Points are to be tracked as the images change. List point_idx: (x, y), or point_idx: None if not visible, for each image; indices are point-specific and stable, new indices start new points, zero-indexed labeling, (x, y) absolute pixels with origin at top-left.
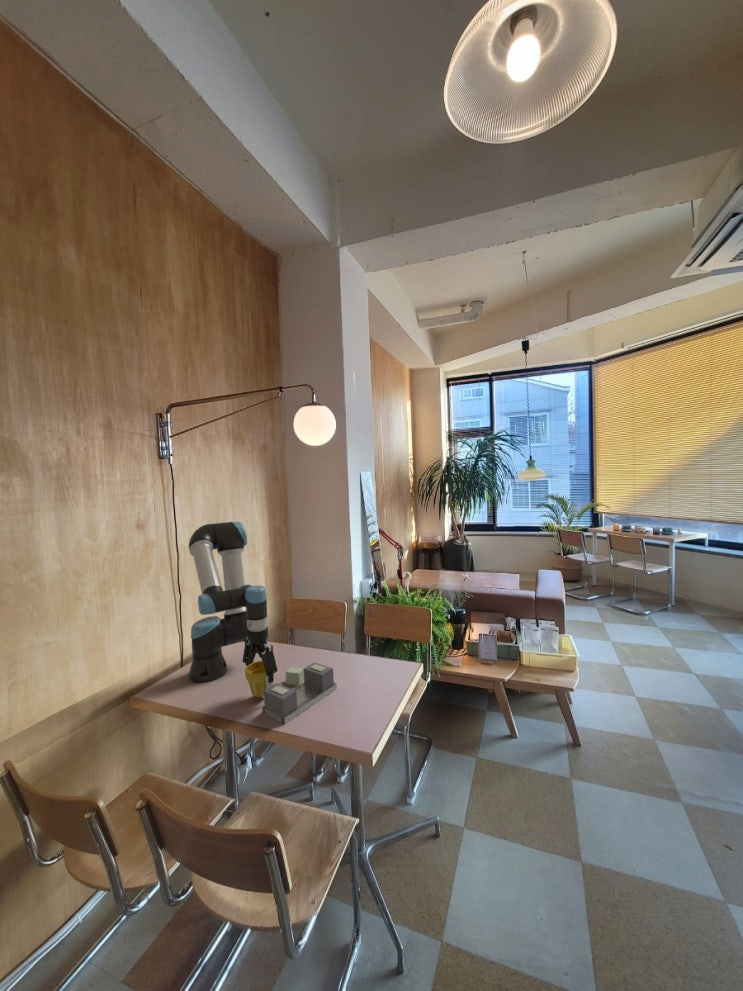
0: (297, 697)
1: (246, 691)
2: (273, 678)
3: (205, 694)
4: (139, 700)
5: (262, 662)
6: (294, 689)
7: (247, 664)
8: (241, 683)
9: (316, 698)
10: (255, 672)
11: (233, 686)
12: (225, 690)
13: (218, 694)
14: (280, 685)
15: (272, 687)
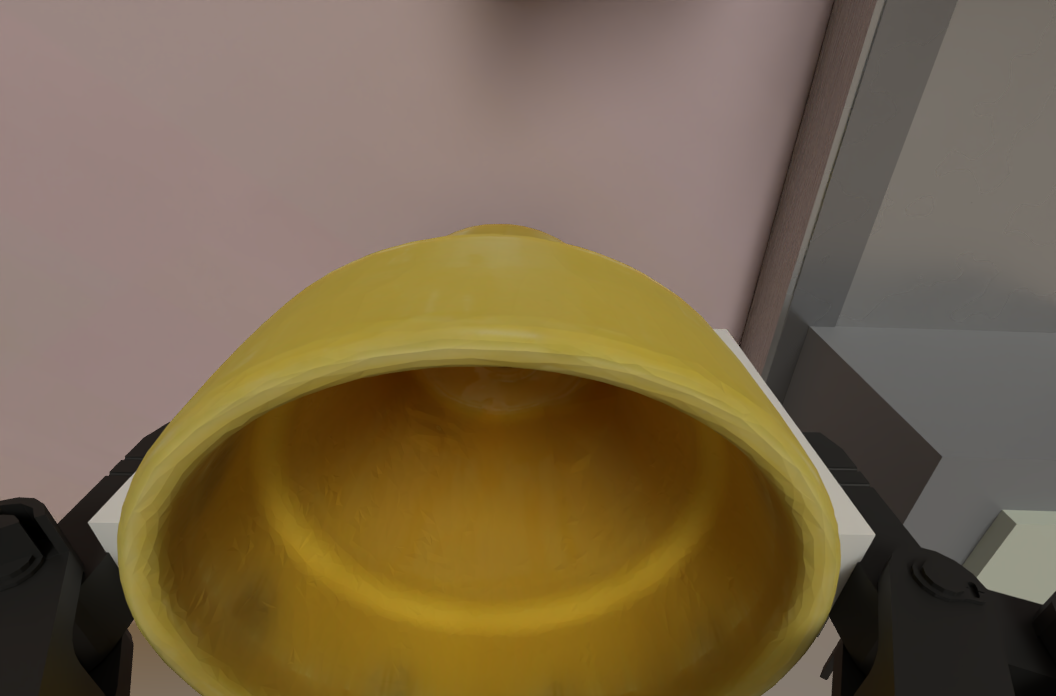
0: (1054, 177)
1: (266, 297)
2: (861, 478)
3: (55, 489)
4: None
5: (242, 422)
6: (913, 30)
7: (126, 667)
8: (32, 215)
9: None
10: (303, 428)
11: (53, 302)
12: (92, 384)
13: (130, 446)
14: (1039, 475)
15: (924, 547)
